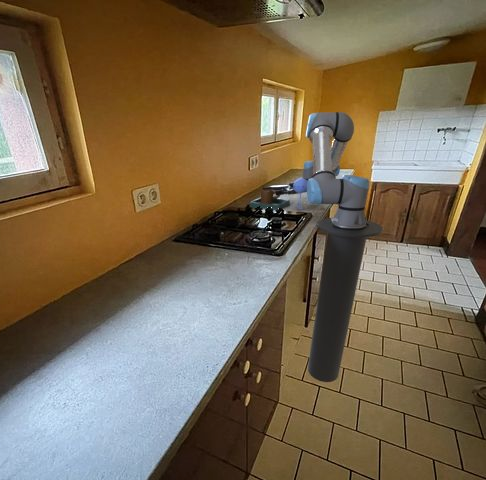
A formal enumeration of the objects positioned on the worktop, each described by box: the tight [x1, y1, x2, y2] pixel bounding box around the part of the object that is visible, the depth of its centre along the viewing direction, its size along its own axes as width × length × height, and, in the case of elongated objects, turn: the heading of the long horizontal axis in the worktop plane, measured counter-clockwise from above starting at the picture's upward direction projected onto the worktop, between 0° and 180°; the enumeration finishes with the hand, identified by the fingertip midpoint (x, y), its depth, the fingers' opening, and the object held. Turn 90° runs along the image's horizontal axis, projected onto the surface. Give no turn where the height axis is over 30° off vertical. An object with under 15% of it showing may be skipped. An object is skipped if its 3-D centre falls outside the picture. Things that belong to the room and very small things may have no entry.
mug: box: [260, 188, 281, 204], centre depth 189 cm, size 12×8×9 cm, turn 75°
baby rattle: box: [293, 177, 308, 211], centre depth 177 cm, size 9×9×18 cm
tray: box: [249, 197, 291, 211], centre depth 192 cm, size 20×18×3 cm
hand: (269, 191), depth 188 cm, fingers open, 13 cm apart
